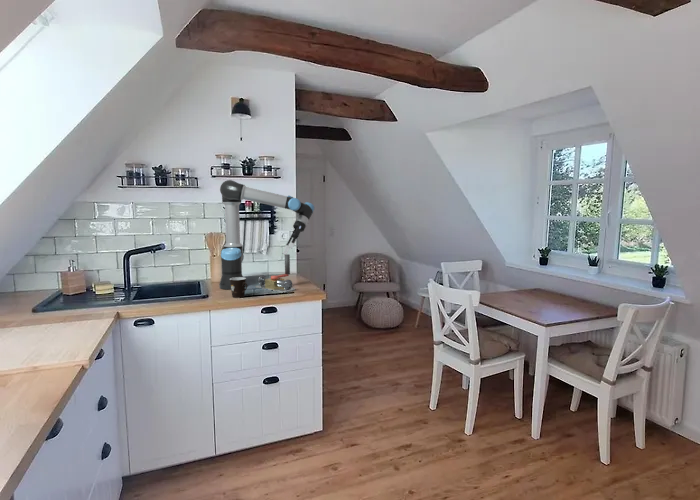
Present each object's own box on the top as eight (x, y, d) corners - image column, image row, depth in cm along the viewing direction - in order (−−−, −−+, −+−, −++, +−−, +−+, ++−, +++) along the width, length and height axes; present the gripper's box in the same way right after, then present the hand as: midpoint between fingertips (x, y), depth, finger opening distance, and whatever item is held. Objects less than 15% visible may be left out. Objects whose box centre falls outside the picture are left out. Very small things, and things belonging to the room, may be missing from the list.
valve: (255, 287, 248) (254, 276, 247) (268, 284, 256) (267, 274, 255) (282, 292, 233) (281, 281, 232) (294, 289, 241) (294, 278, 240)
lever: (274, 279, 241) (273, 257, 239) (269, 278, 243) (268, 256, 242) (291, 276, 252) (291, 254, 250) (286, 275, 254) (286, 254, 253)
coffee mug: (229, 295, 226) (228, 278, 225) (244, 294, 230) (244, 276, 228) (232, 300, 215) (231, 281, 214) (249, 298, 219) (248, 280, 218)
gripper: (312, 219, 251) (298, 247, 242) (300, 233, 273) (286, 259, 263) (301, 213, 250) (286, 241, 240) (290, 227, 271) (276, 254, 262)
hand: (286, 251), depth 252 cm, fingers open, 13 cm apart
